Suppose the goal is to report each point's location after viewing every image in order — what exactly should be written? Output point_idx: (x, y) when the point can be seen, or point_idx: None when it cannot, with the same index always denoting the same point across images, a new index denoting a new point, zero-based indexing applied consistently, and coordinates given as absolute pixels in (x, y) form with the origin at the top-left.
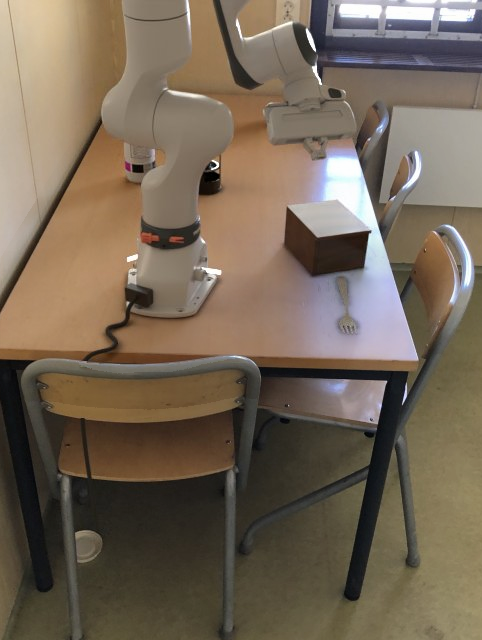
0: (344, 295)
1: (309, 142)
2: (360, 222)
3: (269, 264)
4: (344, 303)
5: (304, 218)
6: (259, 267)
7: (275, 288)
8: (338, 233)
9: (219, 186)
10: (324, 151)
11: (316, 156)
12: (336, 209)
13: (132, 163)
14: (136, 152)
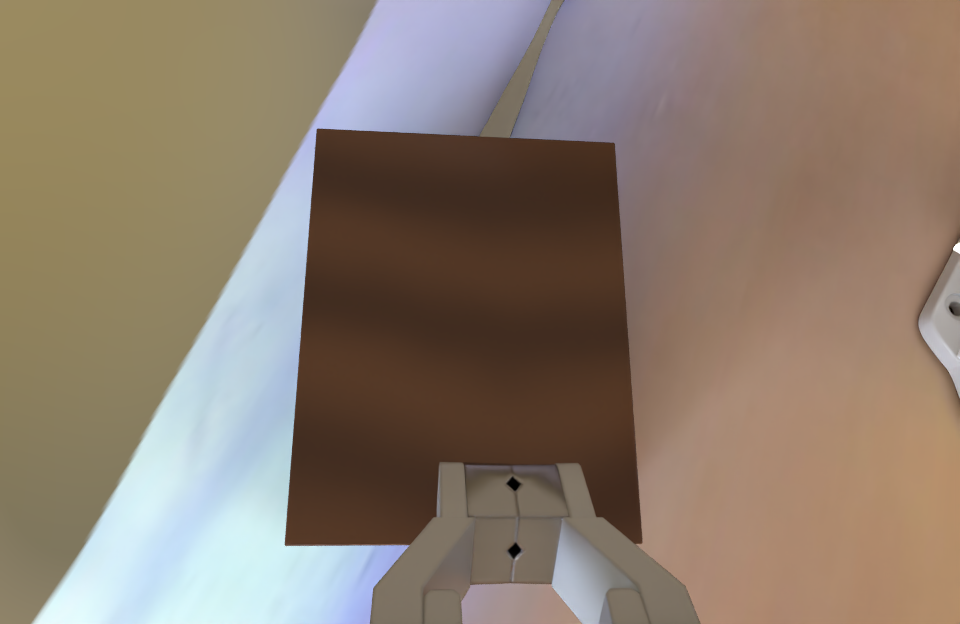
0: (519, 80)
1: (649, 586)
2: (325, 215)
3: (696, 382)
4: (546, 33)
5: (601, 346)
6: (741, 371)
7: (722, 215)
8: (499, 146)
9: None
10: (455, 493)
11: (556, 465)
12: (370, 402)
13: None
14: None
